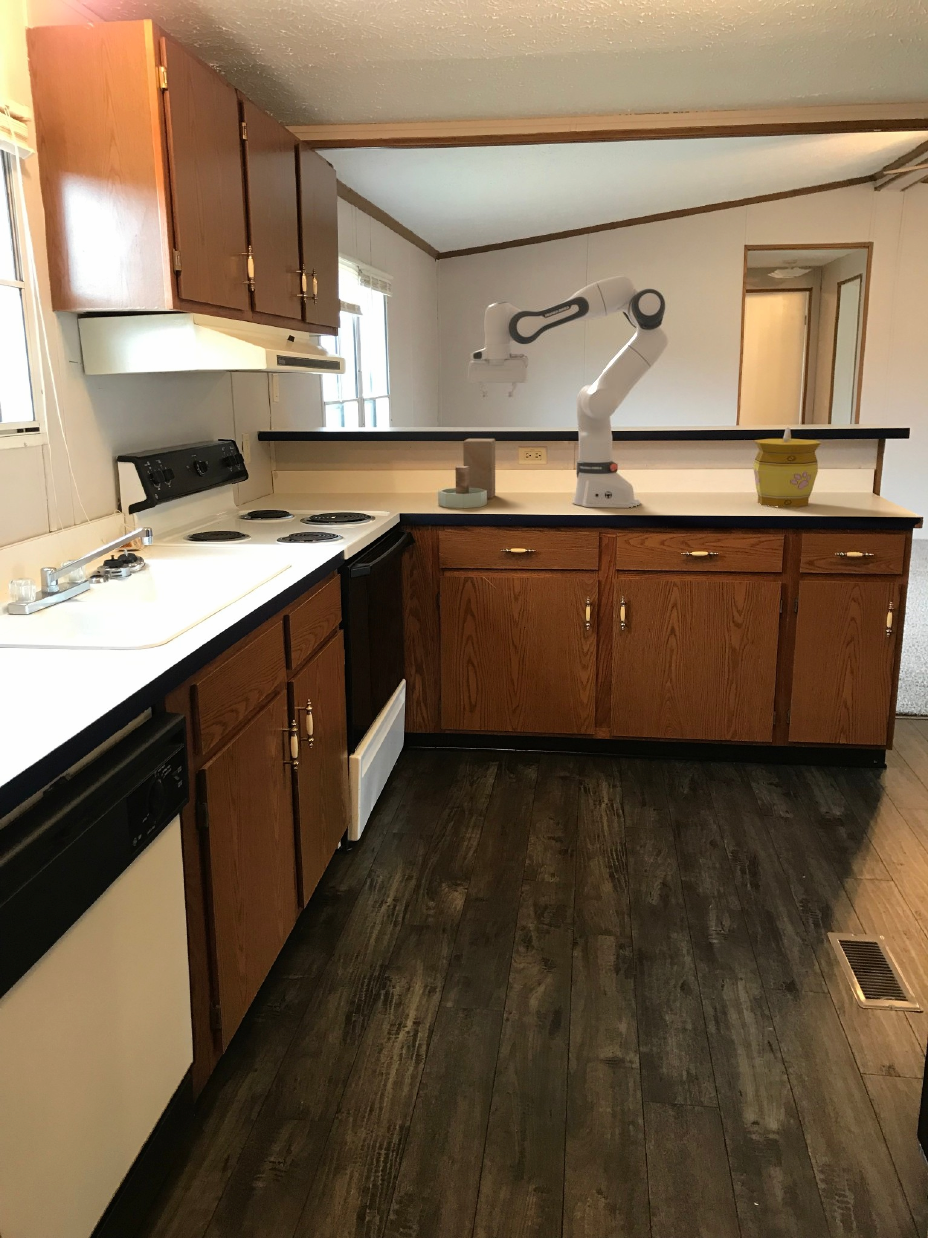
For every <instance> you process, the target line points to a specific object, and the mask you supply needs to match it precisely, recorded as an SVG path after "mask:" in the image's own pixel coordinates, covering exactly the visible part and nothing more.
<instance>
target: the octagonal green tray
mask: <svg viewBox="0 0 928 1238" xmlns="http://www.w3.org/2000/svg"><path fill="white" fill-rule="evenodd" d="M455 492H456V487H450V488H448V487H447V488H442V489H440V490H438V491H437V502H438V503H437V505H438V506H440V507H444V508H452V509H453V508H454V509H455V508H456V509H469V508H480V507H483V506H486V505H487V504H488V502H487V501H488V499H487V490H484V489H480V488H469V492H470V493H468V494H455Z"/></svg>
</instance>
